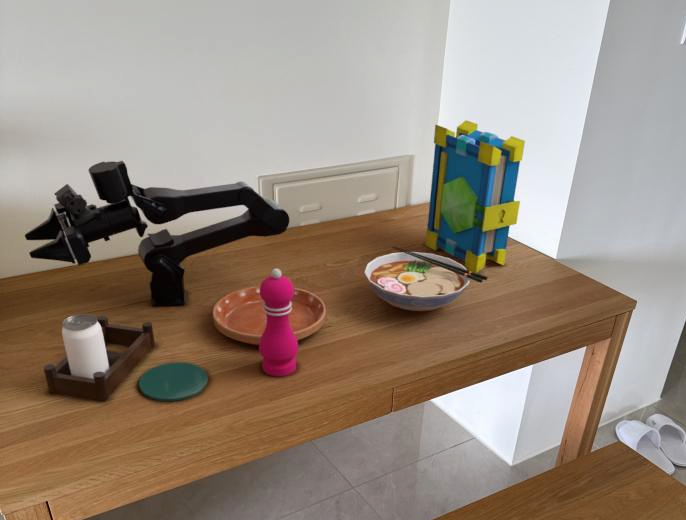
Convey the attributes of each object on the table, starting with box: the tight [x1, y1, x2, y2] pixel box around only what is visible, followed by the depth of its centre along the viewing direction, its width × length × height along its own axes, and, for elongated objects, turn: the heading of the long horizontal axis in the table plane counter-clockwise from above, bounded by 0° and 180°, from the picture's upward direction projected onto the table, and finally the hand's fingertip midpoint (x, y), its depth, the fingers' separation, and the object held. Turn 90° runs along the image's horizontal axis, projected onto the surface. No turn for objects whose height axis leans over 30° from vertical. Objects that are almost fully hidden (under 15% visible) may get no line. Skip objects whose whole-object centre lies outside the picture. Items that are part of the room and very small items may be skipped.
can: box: [61, 313, 109, 379], centre depth 125 cm, size 6×6×12 cm
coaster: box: [138, 362, 209, 402], centre depth 129 cm, size 12×12×1 cm
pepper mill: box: [258, 268, 299, 377], centre depth 129 cm, size 7×7×20 cm
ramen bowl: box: [364, 246, 488, 312], centre depth 156 cm, size 25×23×8 cm
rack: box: [43, 315, 156, 402], centre depth 131 cm, size 20×11×5 cm, turn 168°
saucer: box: [212, 285, 327, 346], centre depth 147 cm, size 23×23×4 cm
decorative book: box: [424, 119, 526, 274], centre depth 173 cm, size 14×23×30 cm, turn 33°
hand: (27, 246), depth 137 cm, fingers open, 9 cm apart
